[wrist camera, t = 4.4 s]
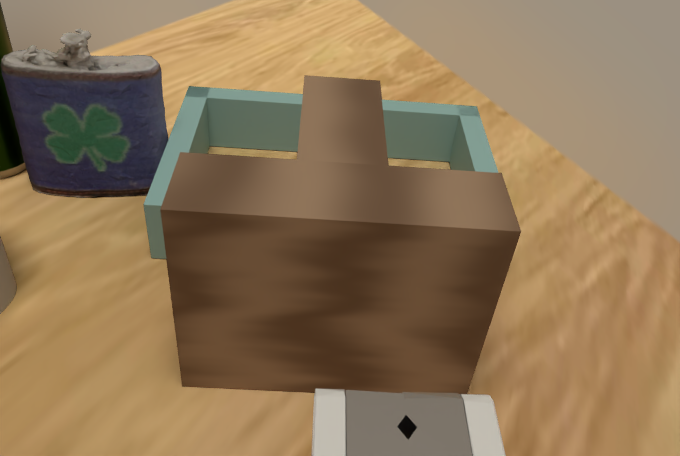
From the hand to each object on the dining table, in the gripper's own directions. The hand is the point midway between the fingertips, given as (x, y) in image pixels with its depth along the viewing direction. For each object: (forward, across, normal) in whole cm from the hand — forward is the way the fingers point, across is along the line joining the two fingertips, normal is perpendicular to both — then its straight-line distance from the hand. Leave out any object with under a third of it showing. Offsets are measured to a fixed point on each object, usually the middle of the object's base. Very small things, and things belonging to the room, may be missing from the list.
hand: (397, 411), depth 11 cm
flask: (+29, +16, +17) cm, 37 cm away
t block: (+19, +1, +17) cm, 26 cm away
